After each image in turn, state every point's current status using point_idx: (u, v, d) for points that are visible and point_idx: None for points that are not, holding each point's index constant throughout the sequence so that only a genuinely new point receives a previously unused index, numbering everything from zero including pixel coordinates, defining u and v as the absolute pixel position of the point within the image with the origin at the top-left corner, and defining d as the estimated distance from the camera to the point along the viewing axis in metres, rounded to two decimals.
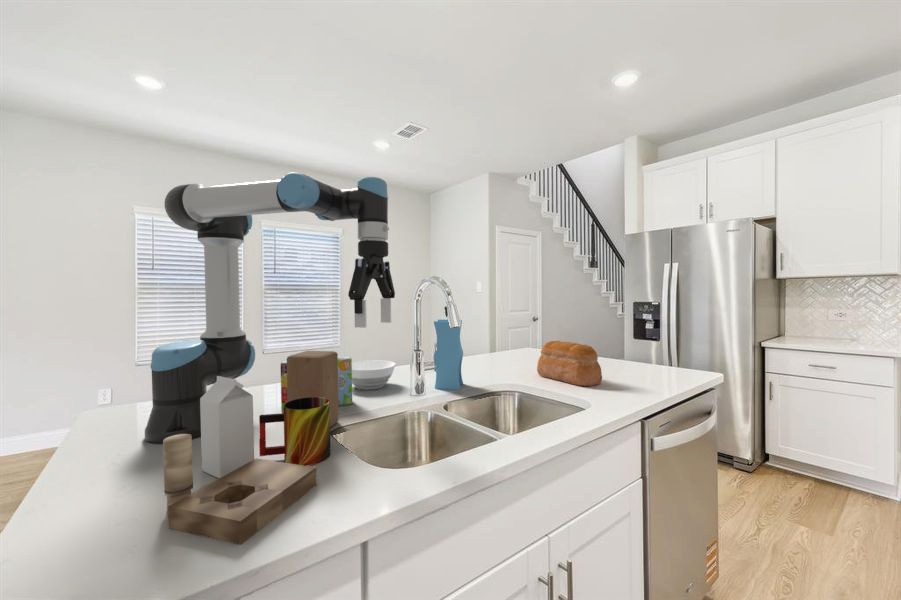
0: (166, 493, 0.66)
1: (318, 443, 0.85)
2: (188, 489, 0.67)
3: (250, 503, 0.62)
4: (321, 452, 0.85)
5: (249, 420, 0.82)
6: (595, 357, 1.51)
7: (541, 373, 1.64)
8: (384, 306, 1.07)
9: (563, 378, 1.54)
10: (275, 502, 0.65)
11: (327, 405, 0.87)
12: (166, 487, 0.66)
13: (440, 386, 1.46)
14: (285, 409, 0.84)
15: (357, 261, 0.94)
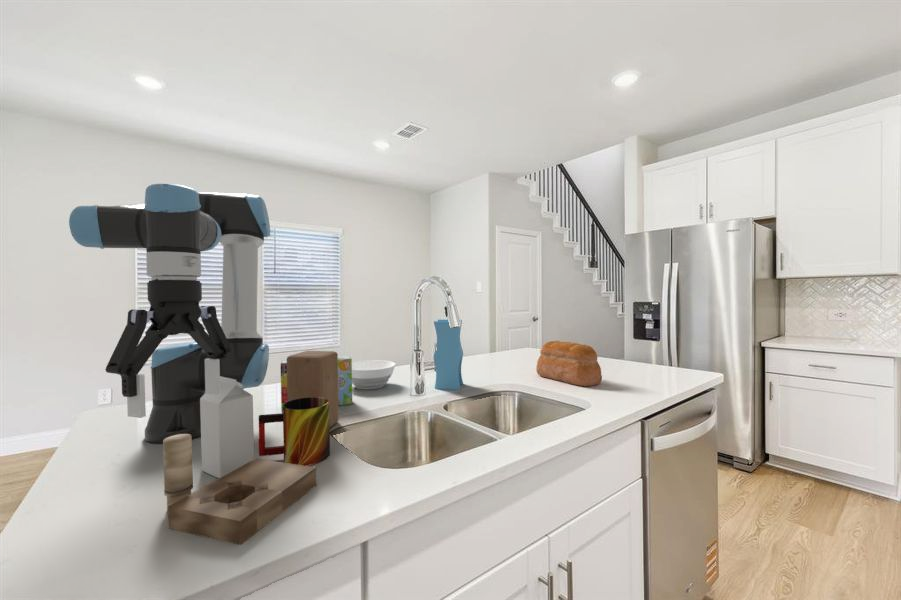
0: (166, 493, 0.66)
1: (317, 443, 0.85)
2: (188, 489, 0.67)
3: (250, 503, 0.62)
4: (320, 452, 0.85)
5: (249, 420, 0.82)
6: (595, 357, 1.51)
7: (541, 373, 1.64)
8: (209, 370, 0.73)
9: (563, 378, 1.54)
10: (275, 502, 0.65)
11: (326, 405, 0.87)
12: (166, 487, 0.66)
13: (440, 386, 1.46)
14: (284, 409, 0.84)
15: (131, 313, 0.61)
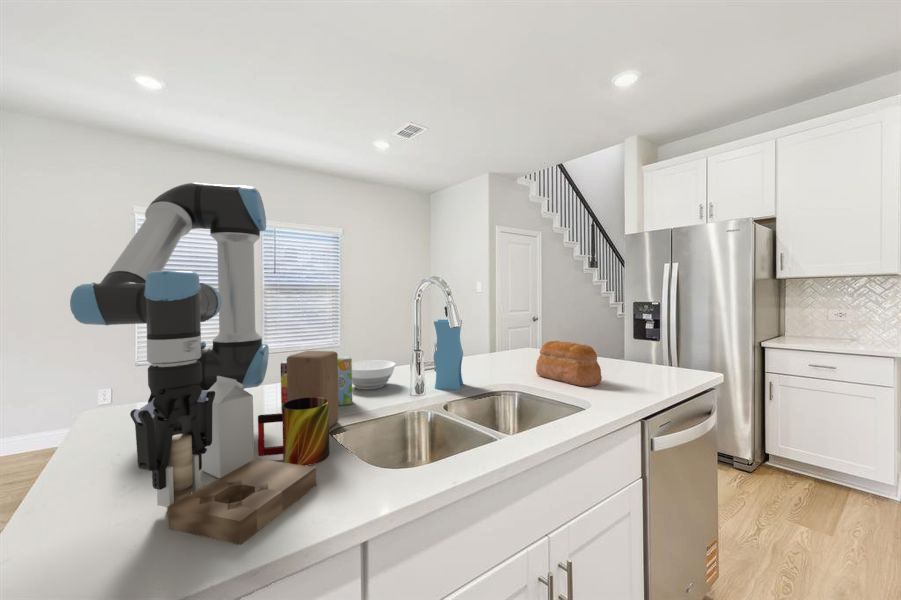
0: None
1: (316, 443, 0.85)
2: (188, 489, 0.67)
3: (250, 503, 0.62)
4: (320, 452, 0.85)
5: (249, 420, 0.82)
6: (595, 357, 1.51)
7: (540, 373, 1.63)
8: None
9: (563, 378, 1.54)
10: (275, 502, 0.65)
11: (326, 405, 0.87)
12: None
13: (440, 386, 1.46)
14: (284, 409, 0.84)
15: (134, 416, 0.61)
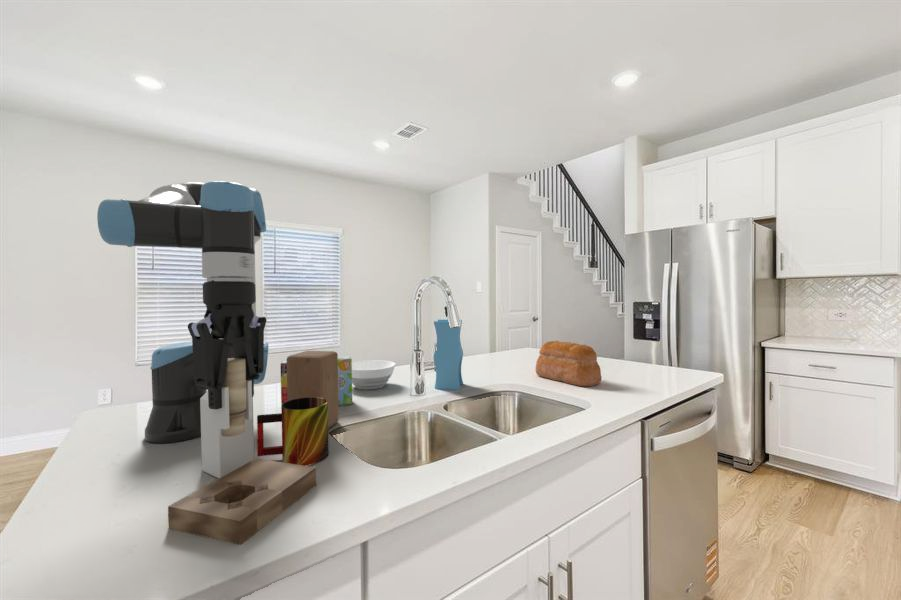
0: None
1: (316, 443, 0.85)
2: (243, 413, 0.64)
3: (250, 503, 0.62)
4: (319, 452, 0.85)
5: (249, 420, 0.82)
6: (595, 357, 1.51)
7: (540, 373, 1.63)
8: None
9: (563, 378, 1.54)
10: (275, 502, 0.65)
11: (325, 405, 0.87)
12: None
13: (440, 386, 1.46)
14: (283, 409, 0.84)
15: (192, 329, 0.58)
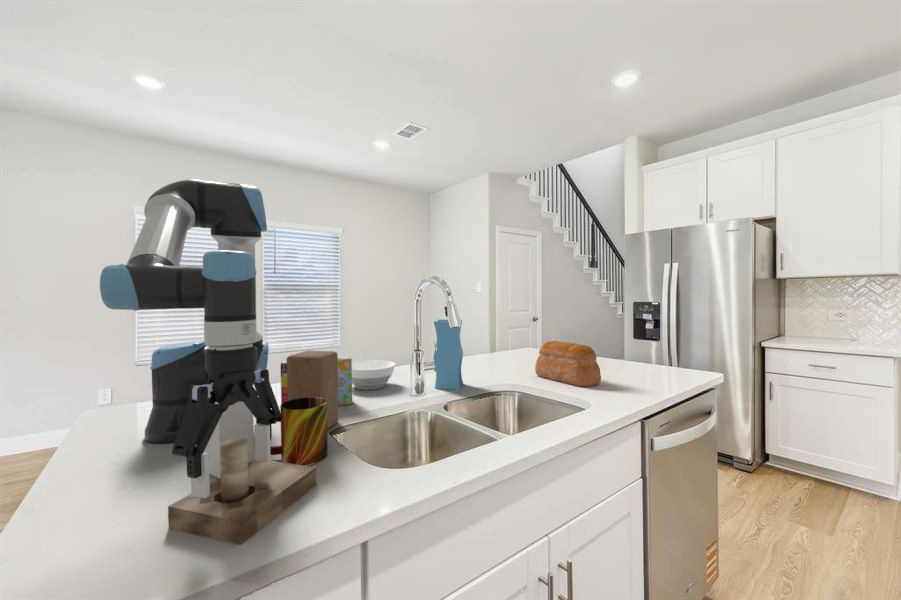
0: (223, 500, 0.64)
1: (315, 443, 0.85)
2: (245, 496, 0.65)
3: (250, 503, 0.62)
4: (318, 452, 0.85)
5: (249, 420, 0.82)
6: (594, 357, 1.50)
7: (539, 373, 1.63)
8: (259, 437, 0.71)
9: (562, 378, 1.54)
10: (275, 502, 0.65)
11: (324, 405, 0.87)
12: (223, 493, 0.64)
13: (440, 386, 1.46)
14: (282, 409, 0.84)
15: (192, 391, 0.58)
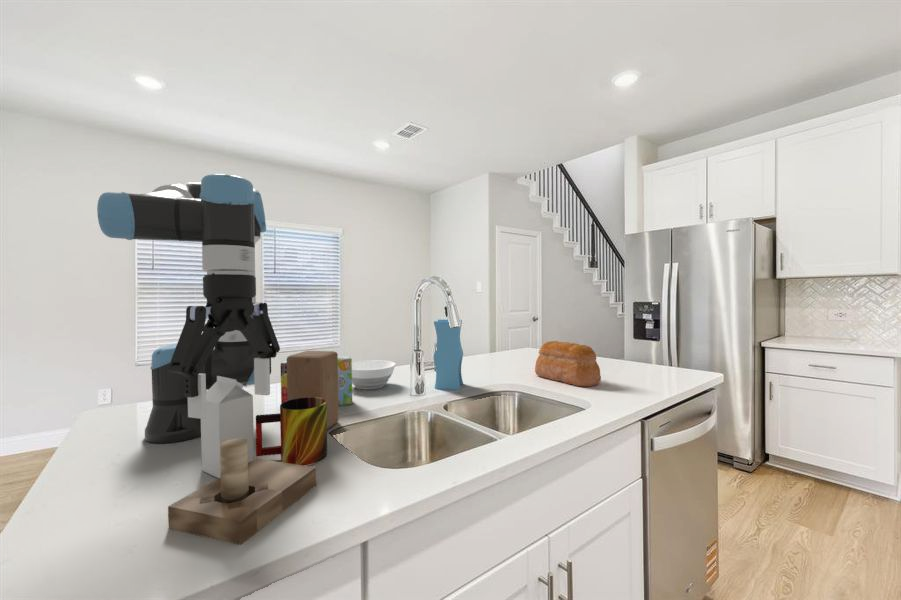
0: (223, 500, 0.64)
1: (314, 443, 0.85)
2: (245, 496, 0.65)
3: (250, 503, 0.62)
4: (318, 452, 0.85)
5: (249, 420, 0.82)
6: (594, 357, 1.50)
7: (539, 374, 1.63)
8: (259, 370, 0.71)
9: (562, 378, 1.54)
10: (275, 502, 0.65)
11: (324, 405, 0.87)
12: (223, 493, 0.64)
13: (440, 386, 1.46)
14: (281, 409, 0.84)
15: (189, 310, 0.58)
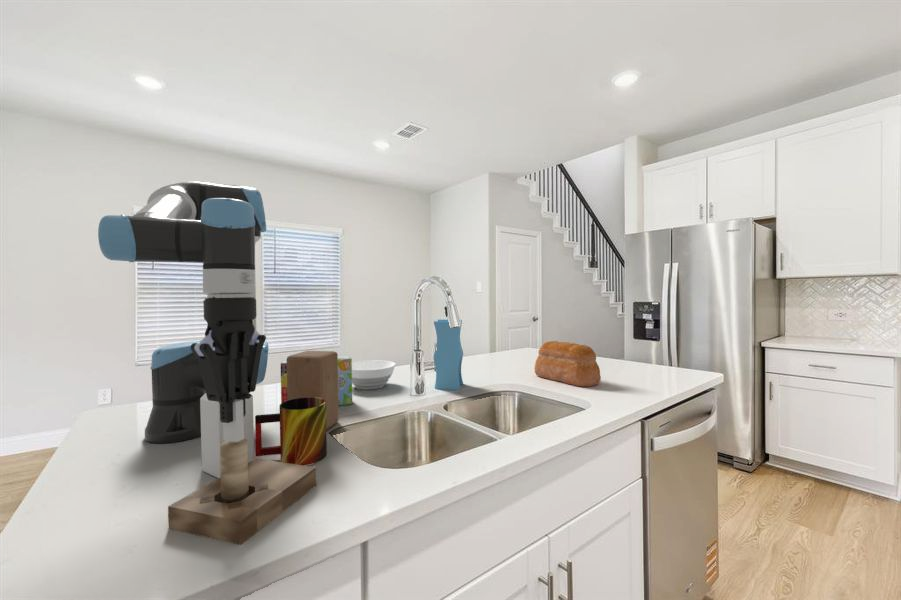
0: (223, 500, 0.64)
1: (314, 443, 0.85)
2: (245, 496, 0.65)
3: (250, 503, 0.62)
4: (317, 452, 0.85)
5: (249, 420, 0.82)
6: (594, 357, 1.50)
7: (539, 374, 1.63)
8: None
9: (562, 379, 1.53)
10: (275, 502, 0.65)
11: (323, 405, 0.87)
12: (223, 493, 0.64)
13: (440, 386, 1.46)
14: (281, 409, 0.84)
15: (195, 350, 0.59)
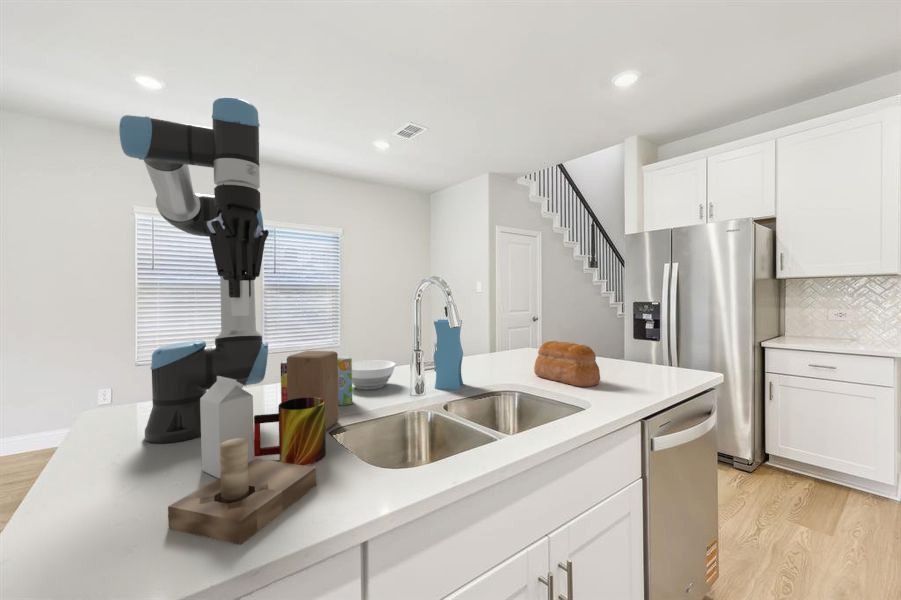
0: (223, 500, 0.64)
1: (313, 443, 0.85)
2: (245, 496, 0.65)
3: (250, 503, 0.62)
4: (316, 452, 0.85)
5: (249, 420, 0.82)
6: (593, 357, 1.50)
7: (539, 374, 1.63)
8: None
9: (561, 379, 1.53)
10: (275, 502, 0.65)
11: (322, 405, 0.87)
12: (223, 493, 0.64)
13: (440, 386, 1.46)
14: (280, 409, 0.84)
15: (207, 226, 0.68)
